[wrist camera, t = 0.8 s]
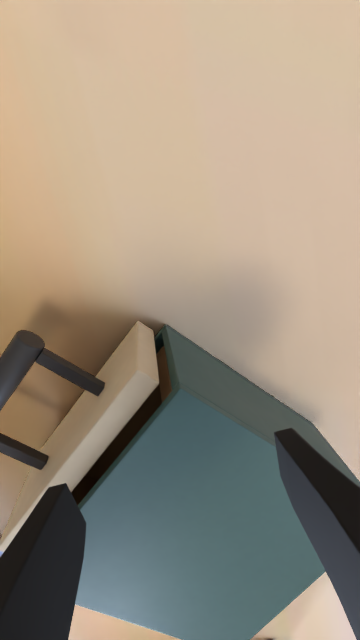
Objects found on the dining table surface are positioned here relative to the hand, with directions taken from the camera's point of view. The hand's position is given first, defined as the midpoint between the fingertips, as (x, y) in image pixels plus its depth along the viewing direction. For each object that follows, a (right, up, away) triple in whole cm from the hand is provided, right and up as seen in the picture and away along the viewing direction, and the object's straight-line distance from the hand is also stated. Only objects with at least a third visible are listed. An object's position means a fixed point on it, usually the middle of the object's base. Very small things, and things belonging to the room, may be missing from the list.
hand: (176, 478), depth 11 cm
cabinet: (+1, -4, +13) cm, 13 cm away
